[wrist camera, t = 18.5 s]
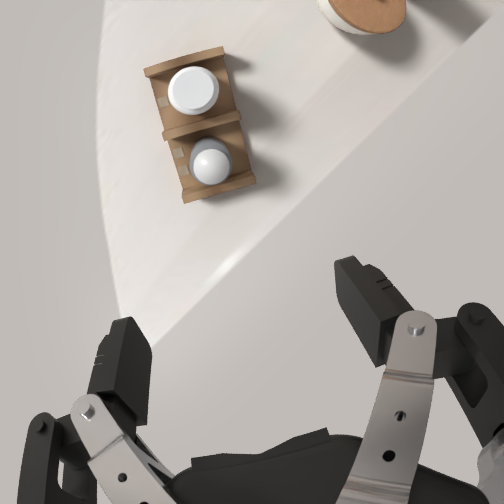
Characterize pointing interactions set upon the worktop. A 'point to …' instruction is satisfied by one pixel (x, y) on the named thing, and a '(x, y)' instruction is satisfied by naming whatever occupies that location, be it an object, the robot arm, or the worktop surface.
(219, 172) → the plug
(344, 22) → the lidded jar
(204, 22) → the worktop surface
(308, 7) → the worktop surface
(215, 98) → the pill bottle
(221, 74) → the rack
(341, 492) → the robot arm
